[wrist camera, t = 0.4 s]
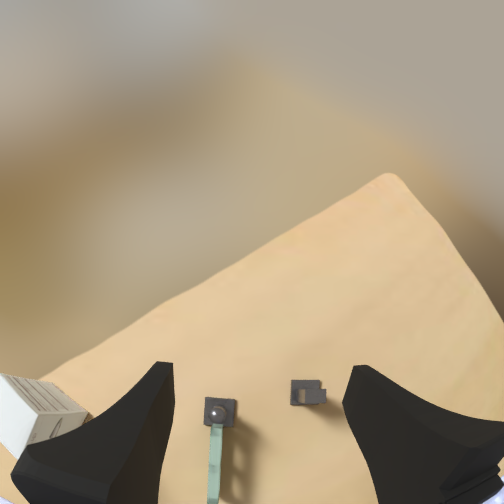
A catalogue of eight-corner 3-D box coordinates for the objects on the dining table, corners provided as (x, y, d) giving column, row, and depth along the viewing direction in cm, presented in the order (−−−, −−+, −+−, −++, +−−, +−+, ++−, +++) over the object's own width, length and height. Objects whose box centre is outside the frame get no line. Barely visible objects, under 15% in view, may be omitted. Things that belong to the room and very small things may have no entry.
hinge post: (233, 426, 33) (233, 432, 28) (203, 423, 33) (198, 429, 28) (234, 399, 35) (234, 401, 30) (205, 396, 34) (201, 398, 30)
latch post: (318, 404, 35) (330, 406, 30) (290, 404, 35) (299, 406, 30) (318, 380, 36) (331, 378, 31) (291, 380, 36) (300, 378, 31)
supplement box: (71, 450, 29) (18, 464, 18) (34, 418, 30) (-22, 418, 19) (91, 412, 32) (39, 415, 21) (52, 380, 33) (-3, 370, 22)
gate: (213, 423, 32) (210, 427, 29) (223, 424, 32) (221, 428, 29) (209, 494, 28) (207, 505, 25) (219, 495, 28) (217, 506, 25)
